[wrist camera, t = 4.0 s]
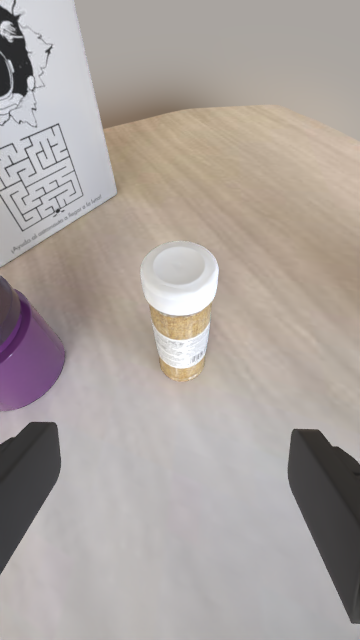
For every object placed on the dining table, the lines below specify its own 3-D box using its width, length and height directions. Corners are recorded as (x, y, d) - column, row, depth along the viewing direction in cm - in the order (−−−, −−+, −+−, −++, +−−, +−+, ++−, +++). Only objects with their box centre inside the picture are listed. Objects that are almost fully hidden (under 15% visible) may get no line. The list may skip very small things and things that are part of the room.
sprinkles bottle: (187, 333, 28) (188, 227, 17) (214, 366, 26) (236, 271, 14) (150, 356, 27) (124, 257, 15) (175, 393, 24) (166, 310, 13)
